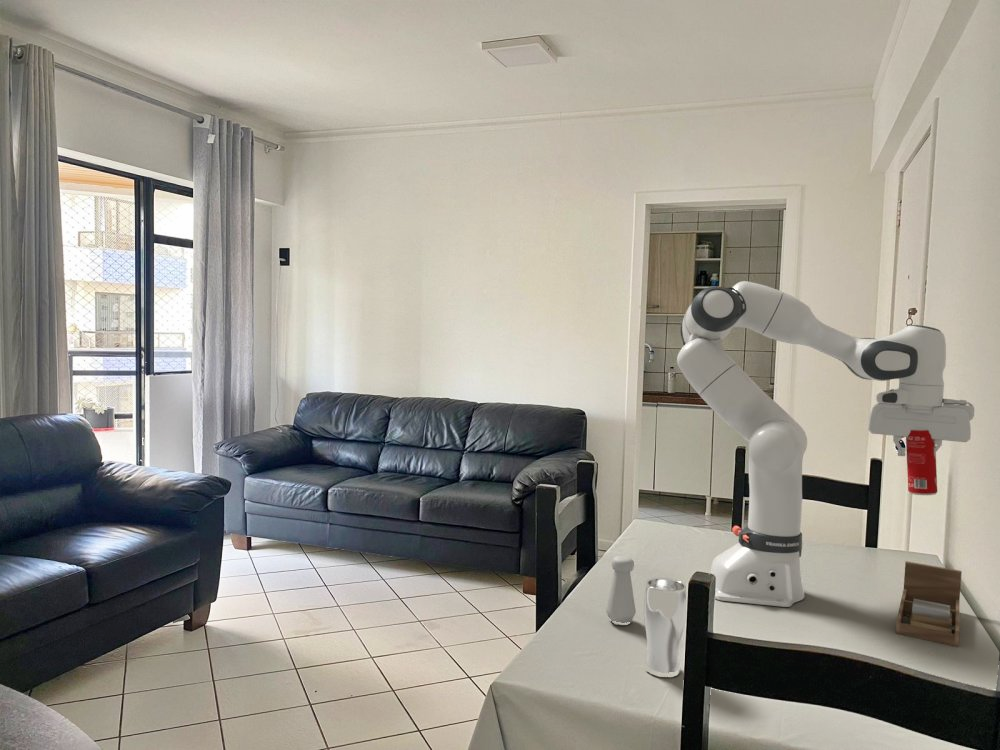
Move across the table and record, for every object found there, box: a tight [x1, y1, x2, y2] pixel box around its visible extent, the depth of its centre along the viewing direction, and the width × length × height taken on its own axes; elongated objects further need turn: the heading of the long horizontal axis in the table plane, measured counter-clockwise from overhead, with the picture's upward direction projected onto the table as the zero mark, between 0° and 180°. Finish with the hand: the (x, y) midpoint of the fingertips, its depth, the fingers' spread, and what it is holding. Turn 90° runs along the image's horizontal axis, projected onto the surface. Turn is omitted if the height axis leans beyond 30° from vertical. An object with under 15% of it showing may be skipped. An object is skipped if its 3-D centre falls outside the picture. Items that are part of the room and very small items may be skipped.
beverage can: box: [905, 430, 938, 496], centre depth 164 cm, size 6×6×15 cm
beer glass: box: [643, 577, 687, 673], centre depth 123 cm, size 7×7×15 cm
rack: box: [895, 560, 962, 647], centre depth 148 cm, size 21×10×9 cm, turn 147°
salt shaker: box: [605, 555, 637, 623], centre depth 143 cm, size 6×6×13 cm
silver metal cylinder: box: [909, 599, 953, 633], centre depth 145 cm, size 5×7×5 cm
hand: (916, 457), depth 165 cm, fingers closed on beverage can, 4 cm apart
